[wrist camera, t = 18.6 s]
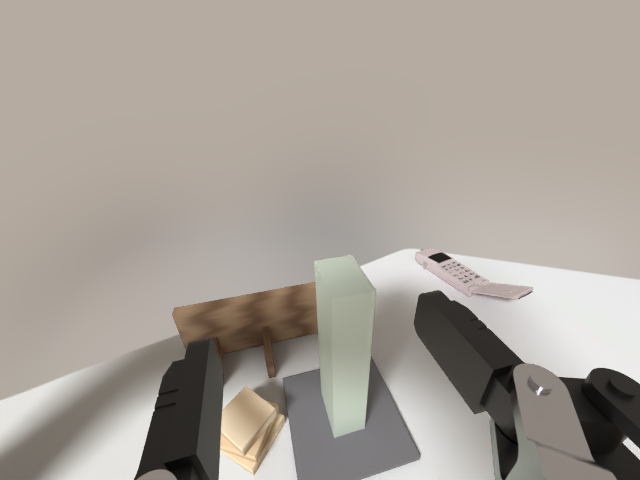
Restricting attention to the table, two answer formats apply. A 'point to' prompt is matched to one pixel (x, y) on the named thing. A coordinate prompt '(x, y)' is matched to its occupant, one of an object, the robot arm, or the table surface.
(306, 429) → the charcoal mat
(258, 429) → the offcut stack
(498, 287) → the mobile phone
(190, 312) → the walnut rack
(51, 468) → the table surface
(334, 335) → the sage green pillar
